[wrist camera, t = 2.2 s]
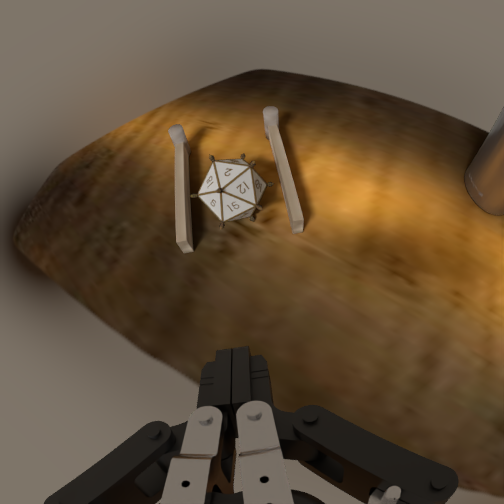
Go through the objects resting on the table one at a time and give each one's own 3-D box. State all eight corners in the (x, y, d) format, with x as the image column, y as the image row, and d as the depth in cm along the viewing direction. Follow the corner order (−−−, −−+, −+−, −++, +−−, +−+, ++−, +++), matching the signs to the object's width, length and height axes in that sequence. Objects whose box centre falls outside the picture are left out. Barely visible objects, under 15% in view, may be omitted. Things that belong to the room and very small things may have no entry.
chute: (277, 130, 44) (276, 105, 40) (305, 231, 37) (308, 209, 32) (178, 149, 45) (168, 126, 40) (180, 253, 37) (167, 235, 33)
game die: (228, 218, 43) (186, 159, 38) (283, 190, 41) (244, 126, 36) (221, 257, 36) (168, 189, 31) (288, 227, 33) (239, 148, 28)
